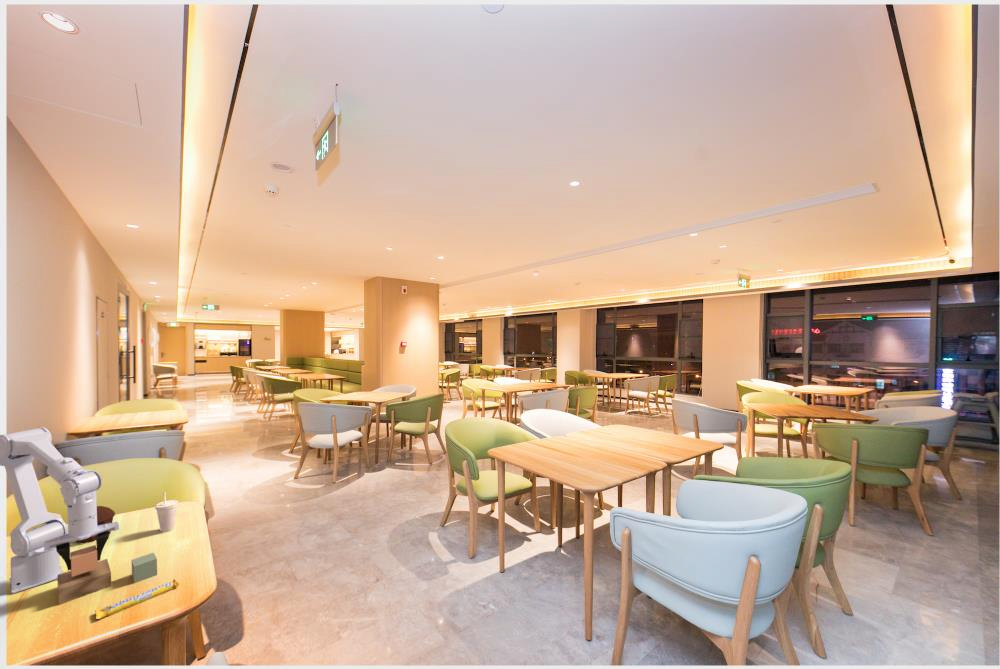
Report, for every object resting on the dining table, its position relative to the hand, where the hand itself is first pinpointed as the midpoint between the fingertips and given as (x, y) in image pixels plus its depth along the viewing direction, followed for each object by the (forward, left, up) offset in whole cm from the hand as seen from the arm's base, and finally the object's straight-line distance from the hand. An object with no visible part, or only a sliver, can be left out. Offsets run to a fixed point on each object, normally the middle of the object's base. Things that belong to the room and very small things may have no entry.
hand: (84, 564), depth 112 cm
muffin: (+4, +37, -7) cm, 38 cm away
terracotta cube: (0, 0, -1) cm, 1 cm away
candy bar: (+9, -19, -7) cm, 22 cm away
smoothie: (+22, +23, -7) cm, 33 cm away
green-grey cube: (+12, -6, -7) cm, 15 cm away
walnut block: (0, 0, -7) cm, 7 cm away
